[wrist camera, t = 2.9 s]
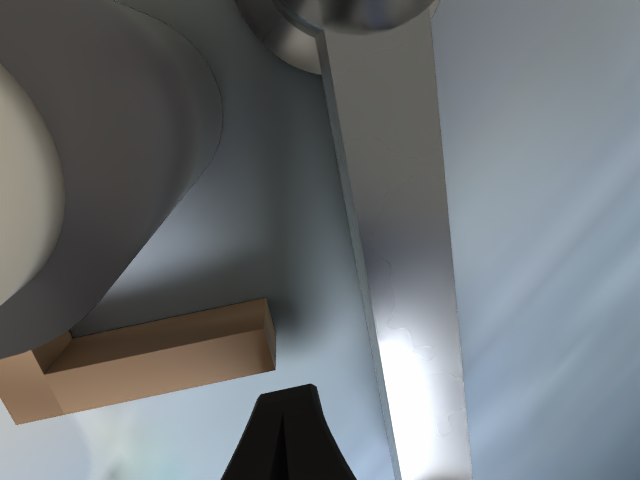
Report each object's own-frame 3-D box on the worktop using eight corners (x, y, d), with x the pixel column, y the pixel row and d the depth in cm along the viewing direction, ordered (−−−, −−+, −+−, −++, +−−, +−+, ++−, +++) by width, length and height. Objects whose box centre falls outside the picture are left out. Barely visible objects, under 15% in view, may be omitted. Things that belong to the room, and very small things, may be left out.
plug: (242, 179, 11) (176, 353, 4) (77, 213, 10) (-259, 446, 4) (192, -9, 9) (-39, -216, 3) (1, 31, 9) (-724, -73, 3)
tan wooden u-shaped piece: (276, 335, 12) (275, 369, 11) (47, 384, 12) (16, 424, 11) (103, -298, 7) (61, -385, 6) (-271, -221, 7) (-399, -289, 6)
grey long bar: (478, 482, 13) (536, 604, 10) (372, 505, 13) (398, 634, 10) (421, -186, 7) (515, -361, 4) (232, -147, 7) (197, -295, 4)
